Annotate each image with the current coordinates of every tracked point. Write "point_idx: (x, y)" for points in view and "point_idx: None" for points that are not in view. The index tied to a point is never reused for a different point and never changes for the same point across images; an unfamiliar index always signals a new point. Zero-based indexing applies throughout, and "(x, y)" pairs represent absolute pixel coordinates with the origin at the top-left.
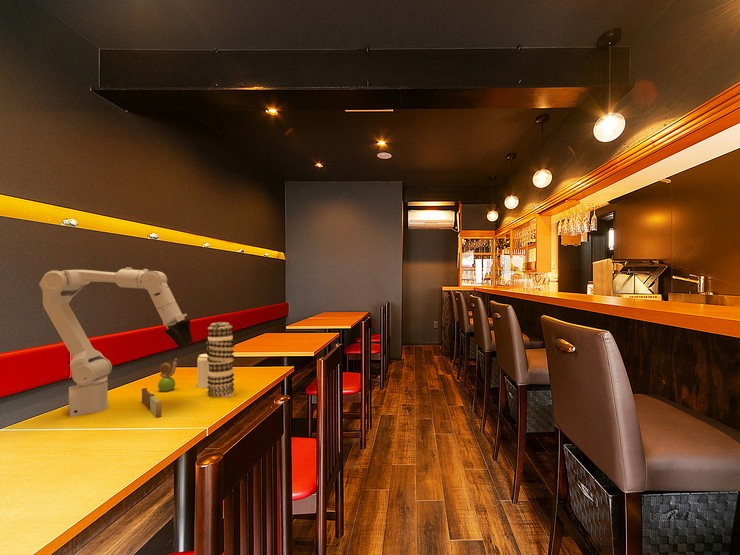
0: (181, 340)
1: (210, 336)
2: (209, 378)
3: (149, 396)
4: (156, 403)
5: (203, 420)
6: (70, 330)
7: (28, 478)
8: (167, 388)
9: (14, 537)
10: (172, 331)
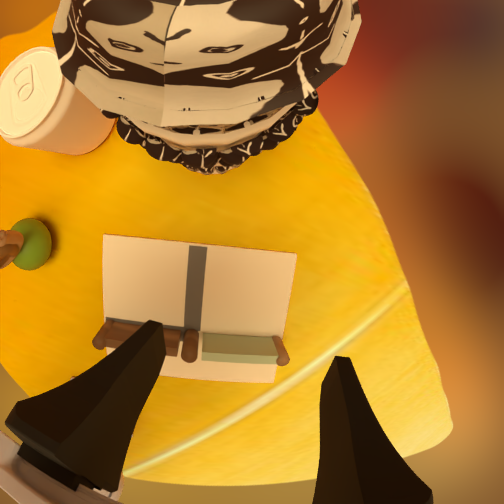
0: (145, 367)
1: (219, 132)
2: (211, 169)
3: (195, 359)
4: (284, 364)
5: (372, 270)
6: None
7: None
8: (51, 248)
9: (430, 446)
10: (112, 460)
